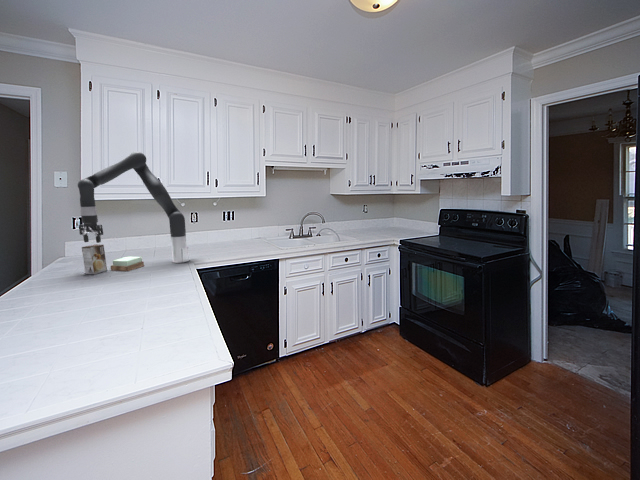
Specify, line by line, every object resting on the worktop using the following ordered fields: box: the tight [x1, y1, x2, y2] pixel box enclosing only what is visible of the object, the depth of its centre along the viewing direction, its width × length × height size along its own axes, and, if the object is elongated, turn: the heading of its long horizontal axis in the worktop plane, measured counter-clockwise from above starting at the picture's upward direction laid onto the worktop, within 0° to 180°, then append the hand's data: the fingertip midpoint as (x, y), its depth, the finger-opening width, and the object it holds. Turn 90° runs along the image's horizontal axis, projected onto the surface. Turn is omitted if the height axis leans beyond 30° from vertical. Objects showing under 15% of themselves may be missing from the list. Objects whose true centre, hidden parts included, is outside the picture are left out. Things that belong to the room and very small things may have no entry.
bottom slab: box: [110, 261, 145, 272], centre depth 199 cm, size 12×13×4 cm
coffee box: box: [81, 243, 108, 275], centre depth 189 cm, size 9×6×16 cm
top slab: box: [112, 256, 143, 266], centre depth 198 cm, size 10×12×3 cm
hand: (92, 242), depth 187 cm, fingers open, 8 cm apart
